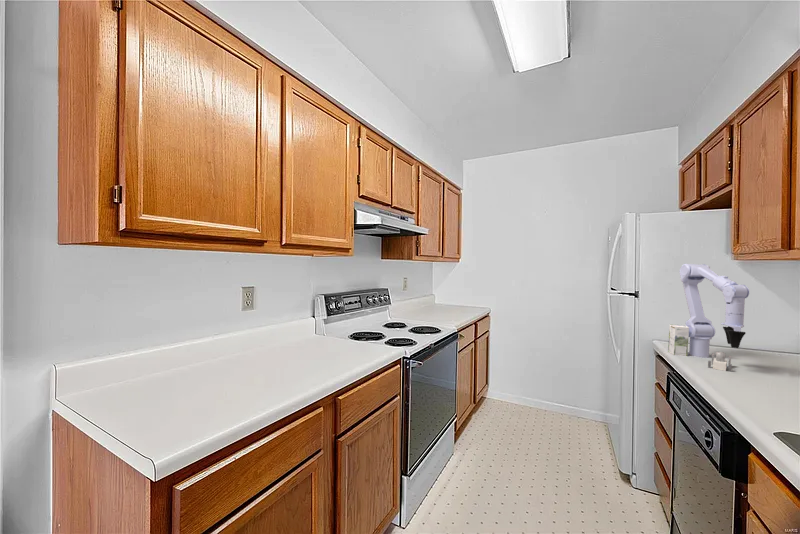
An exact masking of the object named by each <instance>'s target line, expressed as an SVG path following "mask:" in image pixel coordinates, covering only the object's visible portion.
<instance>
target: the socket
mask: <svg viewBox="0 0 800 534" xmlns="http://www.w3.org/2000/svg"><path fill="white" fill-rule="evenodd" d="M711 362H712V360H708V362H707V368H708V369H711V368H712V364H711ZM732 366H733V365H732V363H731V364H729V367H728V372H732Z"/></svg>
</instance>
